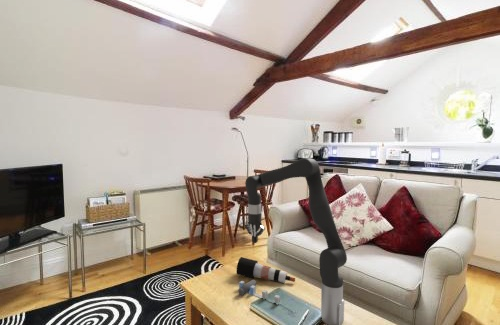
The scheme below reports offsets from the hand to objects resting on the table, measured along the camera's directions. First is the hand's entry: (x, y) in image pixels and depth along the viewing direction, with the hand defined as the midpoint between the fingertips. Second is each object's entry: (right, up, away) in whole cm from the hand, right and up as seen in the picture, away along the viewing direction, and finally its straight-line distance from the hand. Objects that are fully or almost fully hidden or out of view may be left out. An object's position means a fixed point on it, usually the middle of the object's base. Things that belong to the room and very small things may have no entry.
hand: (254, 242), depth 149 cm
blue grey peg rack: (+2, -26, -8) cm, 27 cm away
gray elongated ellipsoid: (-4, -25, -3) cm, 25 cm away
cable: (+7, -25, +9) cm, 27 cm away
